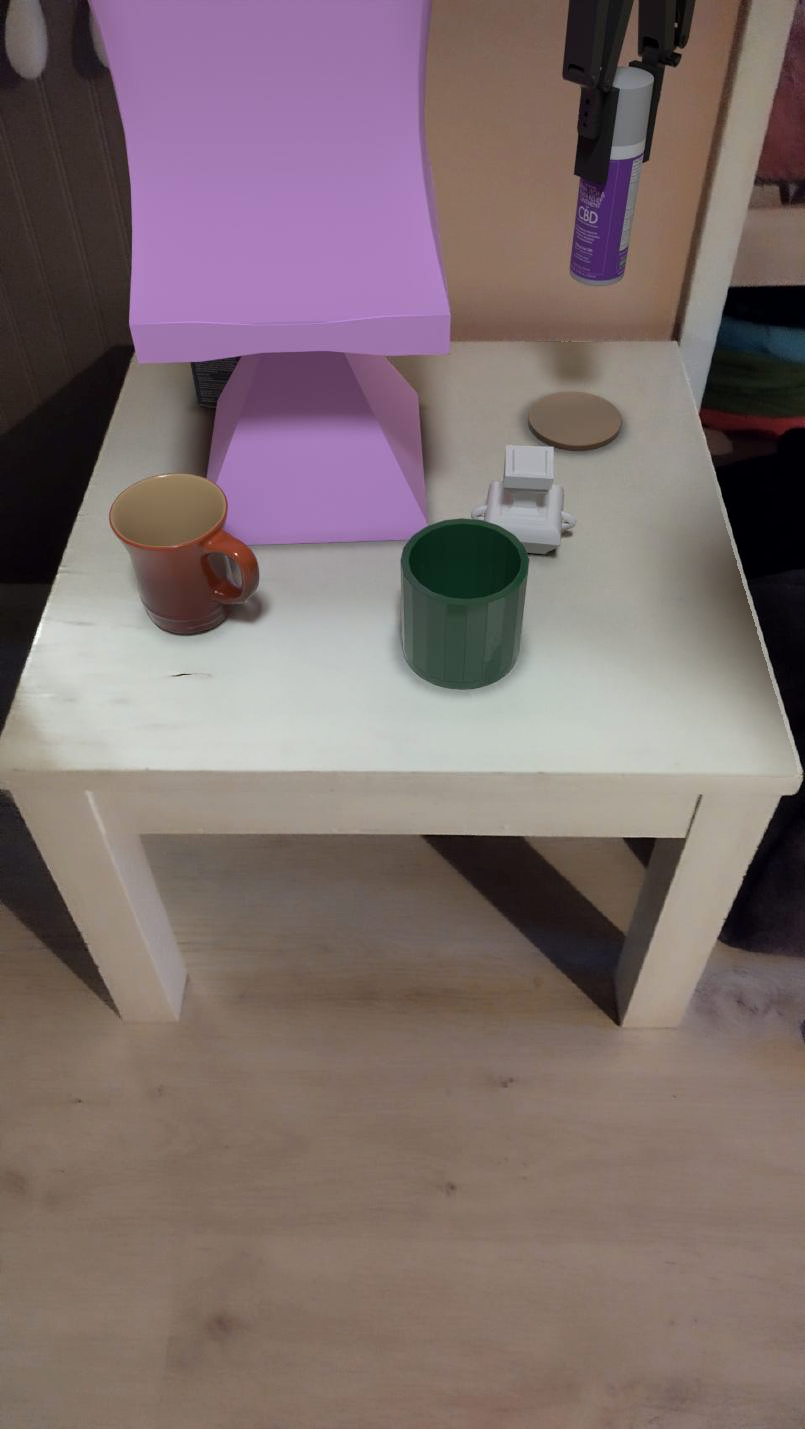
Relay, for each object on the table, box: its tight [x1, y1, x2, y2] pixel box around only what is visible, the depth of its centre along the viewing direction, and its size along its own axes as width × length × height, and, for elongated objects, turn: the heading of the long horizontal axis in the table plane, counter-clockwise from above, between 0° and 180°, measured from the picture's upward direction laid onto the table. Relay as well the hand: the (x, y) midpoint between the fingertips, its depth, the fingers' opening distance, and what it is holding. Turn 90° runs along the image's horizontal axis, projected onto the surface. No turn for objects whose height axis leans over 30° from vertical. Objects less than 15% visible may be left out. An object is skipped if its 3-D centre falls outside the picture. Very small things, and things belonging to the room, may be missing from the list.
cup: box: [399, 517, 530, 690], centre depth 76 cm, size 9×9×9 cm
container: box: [569, 65, 654, 287], centre depth 81 cm, size 5×5×15 cm
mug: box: [108, 472, 260, 634], centre depth 78 cm, size 12×9×10 cm
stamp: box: [470, 444, 578, 555], centre depth 85 cm, size 9×7×8 cm
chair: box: [87, 0, 451, 546], centre depth 77 cm, size 22×22×45 cm
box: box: [189, 356, 242, 409], centre depth 99 cm, size 8×6×11 cm
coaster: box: [527, 391, 623, 452], centre depth 98 cm, size 9×9×1 cm
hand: (611, 166), depth 80 cm, fingers closed on container, 5 cm apart
